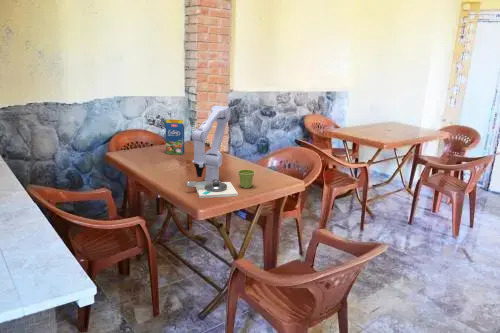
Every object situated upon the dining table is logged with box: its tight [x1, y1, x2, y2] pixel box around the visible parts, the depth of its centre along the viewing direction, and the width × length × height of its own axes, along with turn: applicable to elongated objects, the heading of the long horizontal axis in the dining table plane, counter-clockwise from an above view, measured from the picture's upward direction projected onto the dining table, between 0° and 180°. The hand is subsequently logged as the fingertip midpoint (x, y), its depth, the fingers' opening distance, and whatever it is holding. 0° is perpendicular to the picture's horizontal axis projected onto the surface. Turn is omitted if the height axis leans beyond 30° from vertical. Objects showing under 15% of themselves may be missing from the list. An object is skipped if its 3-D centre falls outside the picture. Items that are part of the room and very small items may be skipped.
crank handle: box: [186, 179, 227, 192], centre depth 218 cm, size 22×12×4 cm, turn 104°
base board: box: [195, 181, 239, 199], centre depth 220 cm, size 20×20×2 cm
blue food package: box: [165, 118, 185, 156], centre depth 294 cm, size 6×12×25 cm, turn 84°
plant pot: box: [237, 169, 256, 189], centre depth 228 cm, size 9×9×9 cm
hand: (199, 176), depth 222 cm, fingers closed
